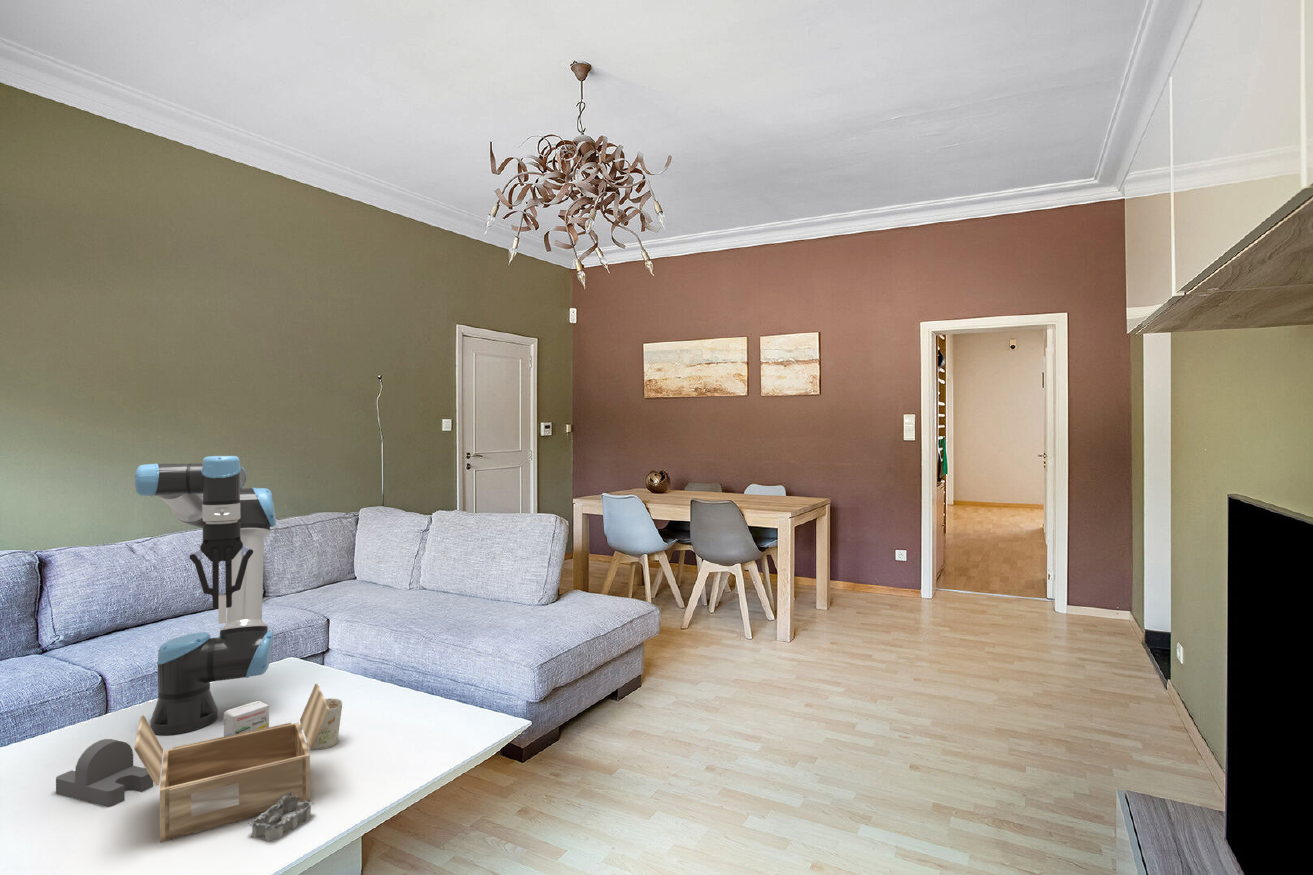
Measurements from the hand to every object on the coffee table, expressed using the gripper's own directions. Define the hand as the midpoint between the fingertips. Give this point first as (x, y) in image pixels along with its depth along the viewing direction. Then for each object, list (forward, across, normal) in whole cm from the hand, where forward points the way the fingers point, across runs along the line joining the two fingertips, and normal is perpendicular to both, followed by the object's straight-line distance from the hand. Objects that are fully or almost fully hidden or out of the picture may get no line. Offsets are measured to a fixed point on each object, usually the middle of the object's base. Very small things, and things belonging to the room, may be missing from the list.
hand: (222, 621), depth 161 cm
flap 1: (+20, -13, -18) cm, 30 cm away
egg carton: (+35, +9, -34) cm, 50 cm away
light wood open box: (+34, +2, -18) cm, 39 cm away
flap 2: (+20, +17, -18) cm, 31 cm away
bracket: (+35, -22, +3) cm, 41 cm away
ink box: (+35, +5, +4) cm, 35 cm away
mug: (+35, +20, -1) cm, 40 cm away
